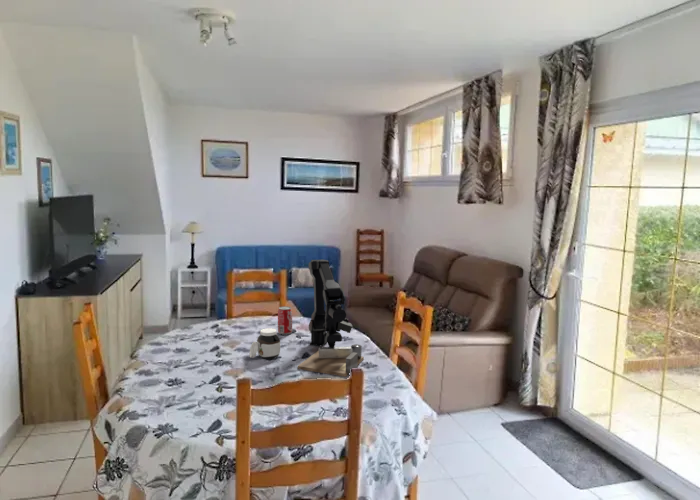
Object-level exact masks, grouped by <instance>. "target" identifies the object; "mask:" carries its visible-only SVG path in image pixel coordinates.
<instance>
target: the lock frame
mask: <svg viewBox="0 0 700 500" xmlns="http://www.w3.org/2000/svg"><path fill="white" fill-rule="evenodd" d="M362 361H364V356H362V355H361V358H359V359H358V353H355V352H353V353H352V354H350V355H349V356H348V357H347V358H319V350H317V351H316V352H314V353H313V354H312V355H311V356H309V357H308V358H306V359H305V360H304V361H302V362H300V364H298V365H297V370H302V371H308V372H316V373H322V374H327V375H332V376H339V377H344V378H346V377H347V376H349V373H350V369H352V368H357V369H358V366H359V364H361V363H362ZM349 377H350V376H349Z"/></svg>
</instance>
